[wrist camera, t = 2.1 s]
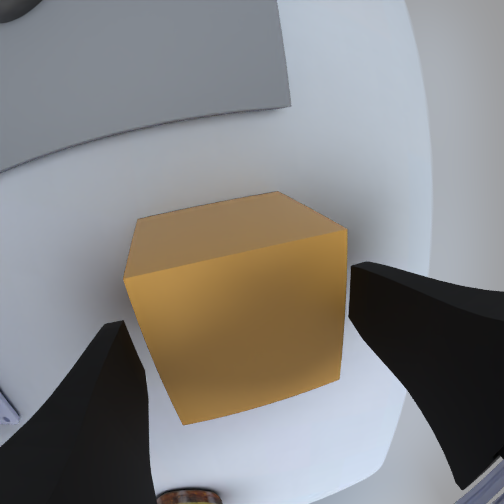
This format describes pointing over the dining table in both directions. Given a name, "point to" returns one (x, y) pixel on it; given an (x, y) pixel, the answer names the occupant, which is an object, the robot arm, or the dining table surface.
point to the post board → (130, 67)
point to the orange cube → (239, 302)
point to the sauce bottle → (189, 497)
